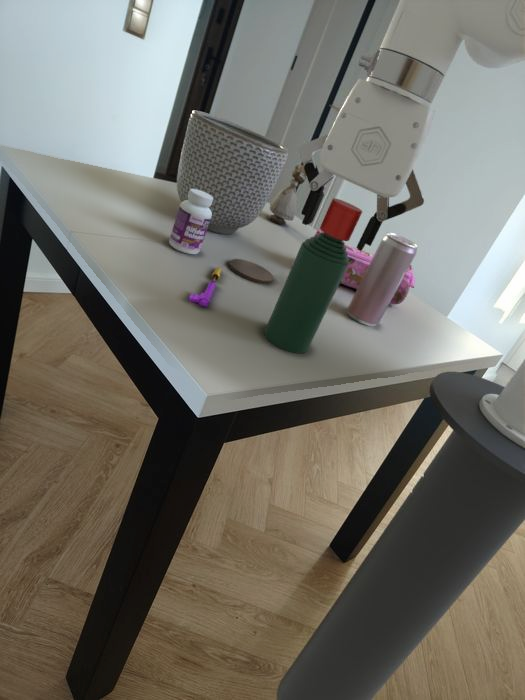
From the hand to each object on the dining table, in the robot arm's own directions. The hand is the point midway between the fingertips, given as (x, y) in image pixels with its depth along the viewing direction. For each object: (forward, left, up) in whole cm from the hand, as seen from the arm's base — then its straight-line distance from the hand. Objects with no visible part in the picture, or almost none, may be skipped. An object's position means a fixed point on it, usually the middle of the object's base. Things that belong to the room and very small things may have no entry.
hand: (333, 234), depth 62 cm
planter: (+31, -33, -16) cm, 48 cm away
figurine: (+27, -63, -16) cm, 70 cm away
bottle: (0, 0, -15) cm, 15 cm away
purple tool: (+15, -3, -16) cm, 22 cm away
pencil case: (0, -38, -16) cm, 41 cm away
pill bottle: (+25, -13, -16) cm, 32 cm away
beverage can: (-6, -24, -16) cm, 29 cm away
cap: (0, 0, 0) cm, 0 cm away
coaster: (+14, -18, -15) cm, 28 cm away
